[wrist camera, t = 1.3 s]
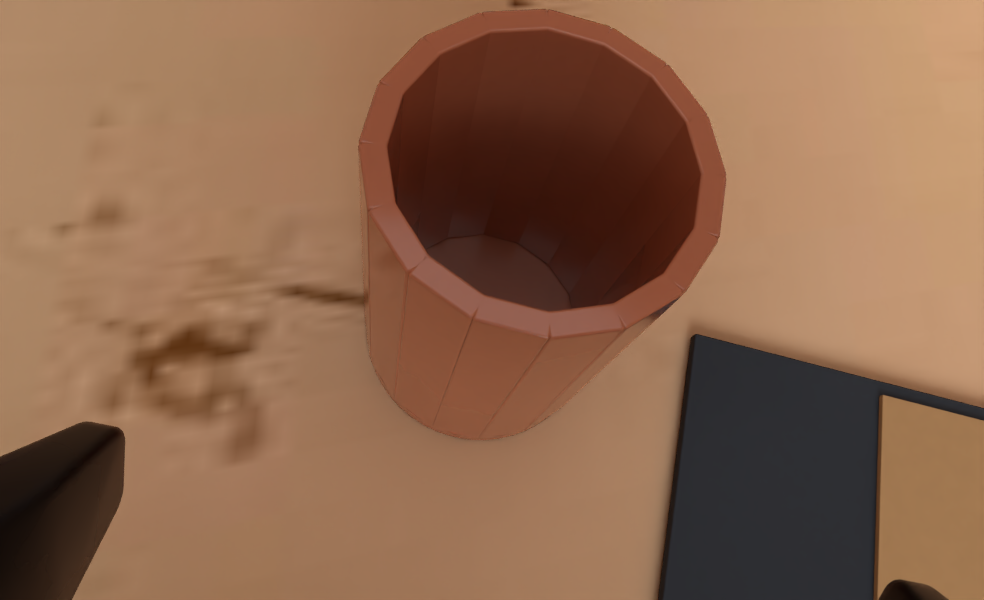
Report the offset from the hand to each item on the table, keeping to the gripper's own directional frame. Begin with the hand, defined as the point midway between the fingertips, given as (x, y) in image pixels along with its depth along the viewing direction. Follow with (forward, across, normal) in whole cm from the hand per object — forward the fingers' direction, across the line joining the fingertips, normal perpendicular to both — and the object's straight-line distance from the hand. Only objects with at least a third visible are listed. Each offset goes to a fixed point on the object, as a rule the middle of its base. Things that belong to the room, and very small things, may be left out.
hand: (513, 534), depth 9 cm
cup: (+14, 0, +4) cm, 14 cm away
